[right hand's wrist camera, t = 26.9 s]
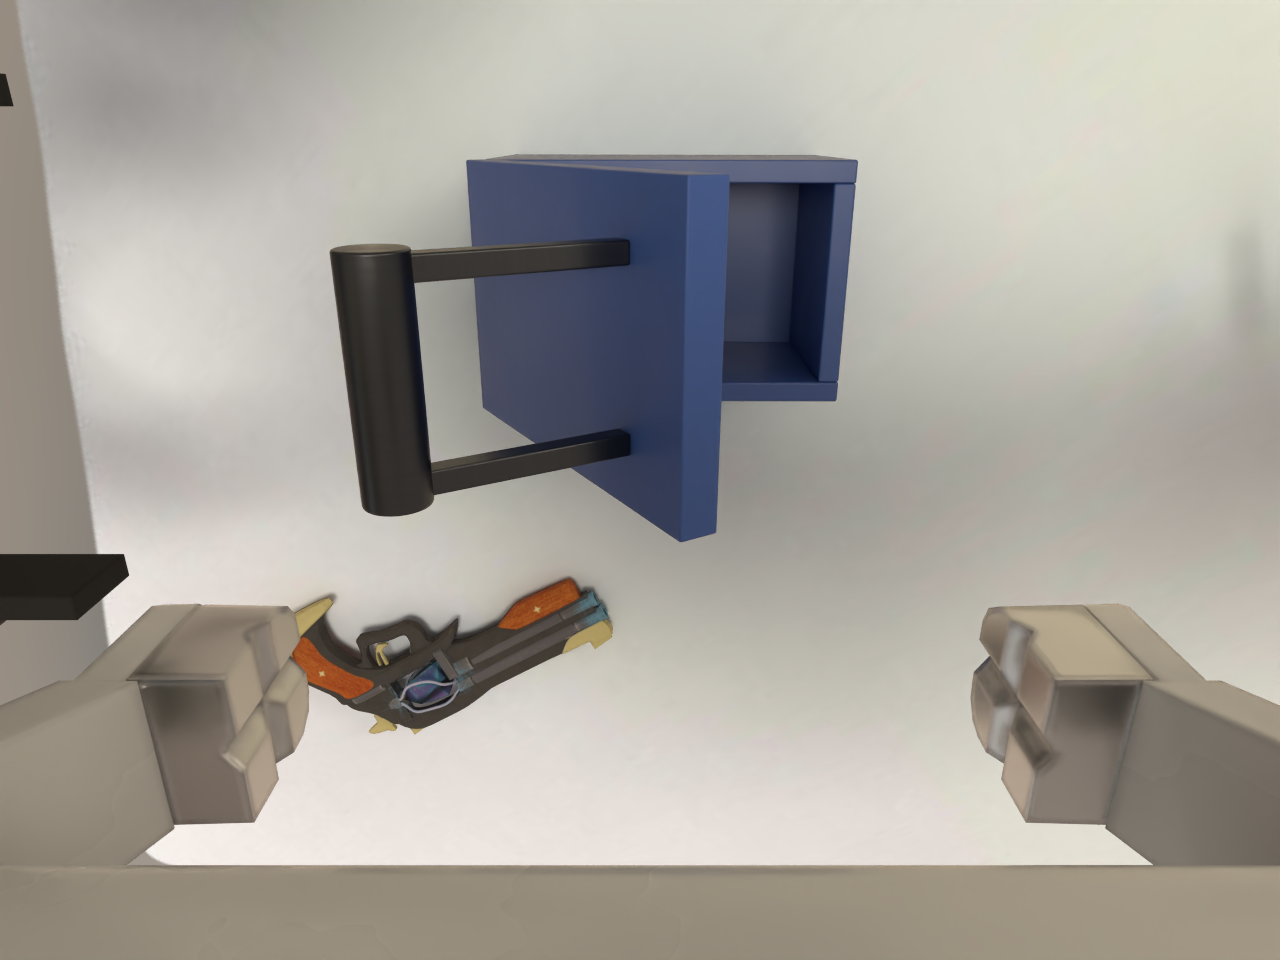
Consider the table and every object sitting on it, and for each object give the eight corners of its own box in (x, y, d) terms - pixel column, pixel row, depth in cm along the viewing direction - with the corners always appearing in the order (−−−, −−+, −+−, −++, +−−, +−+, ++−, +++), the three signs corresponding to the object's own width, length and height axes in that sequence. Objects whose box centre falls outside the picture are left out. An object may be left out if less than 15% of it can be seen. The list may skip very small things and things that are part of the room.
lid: (731, 174, 21) (355, 182, 17) (716, 533, 25) (404, 617, 21) (497, 159, 34) (241, 162, 29) (510, 403, 37) (285, 439, 33)
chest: (816, 155, 42) (858, 160, 34) (801, 354, 46) (836, 402, 38) (514, 154, 42) (484, 159, 34) (524, 353, 46) (499, 401, 38)
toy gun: (241, 646, 49) (337, 783, 51) (531, 495, 47) (618, 644, 49) (261, 627, 52) (351, 758, 54) (537, 483, 50) (619, 625, 52)
